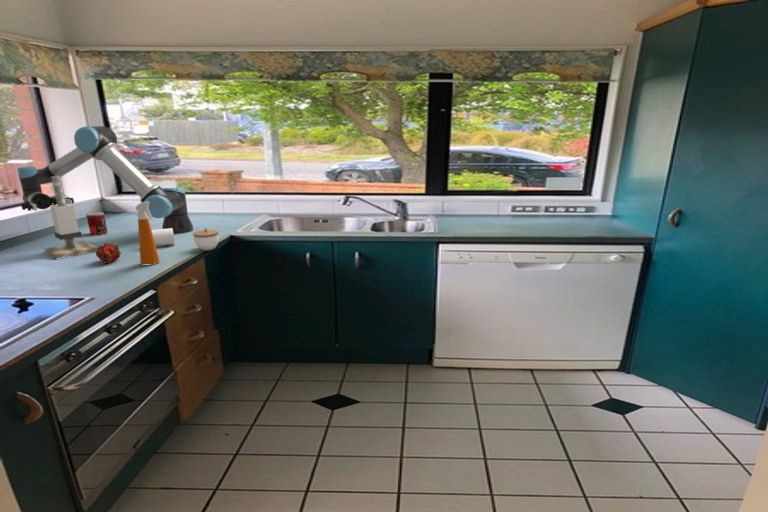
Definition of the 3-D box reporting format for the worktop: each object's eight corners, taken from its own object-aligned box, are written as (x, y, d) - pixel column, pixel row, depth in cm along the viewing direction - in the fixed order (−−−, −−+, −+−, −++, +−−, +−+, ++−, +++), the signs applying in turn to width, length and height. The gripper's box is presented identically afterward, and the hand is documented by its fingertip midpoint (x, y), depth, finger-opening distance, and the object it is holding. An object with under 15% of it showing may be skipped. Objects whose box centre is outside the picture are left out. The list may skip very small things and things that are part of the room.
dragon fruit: (115, 260, 195) (111, 272, 185) (94, 251, 191) (89, 263, 181) (125, 244, 194) (121, 256, 184) (104, 235, 189) (99, 246, 179)
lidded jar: (196, 253, 200) (194, 232, 197) (194, 247, 209) (191, 227, 206) (221, 249, 205) (219, 229, 202) (218, 244, 214) (216, 225, 211)
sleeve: (73, 229, 204) (68, 203, 201) (79, 232, 200) (73, 205, 197) (55, 232, 199) (49, 205, 196) (60, 235, 195) (54, 207, 191)
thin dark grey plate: (75, 233, 206) (74, 229, 205) (81, 236, 201) (80, 231, 200) (55, 236, 200) (54, 232, 199) (61, 239, 195) (60, 235, 194)
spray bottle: (152, 268, 179) (141, 203, 172) (137, 264, 185) (126, 200, 177) (168, 263, 185) (159, 200, 177) (153, 259, 191) (143, 198, 183)
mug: (175, 246, 211) (172, 230, 208) (151, 249, 207) (148, 232, 204) (174, 240, 221) (172, 224, 219) (151, 243, 217) (149, 227, 215)
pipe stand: (85, 245, 213) (70, 173, 203) (98, 251, 203) (83, 175, 193) (45, 252, 201) (27, 176, 191) (56, 259, 191) (38, 179, 182)
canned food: (99, 236, 230) (95, 215, 227) (86, 235, 232) (82, 214, 229) (111, 232, 238) (107, 212, 234) (98, 231, 239) (94, 211, 236)
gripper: (71, 204, 226) (86, 209, 213) (9, 212, 207) (22, 218, 194) (68, 189, 223) (83, 193, 210) (5, 196, 205) (17, 201, 192)
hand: (53, 205), depth 202 cm, fingers open, 13 cm apart
